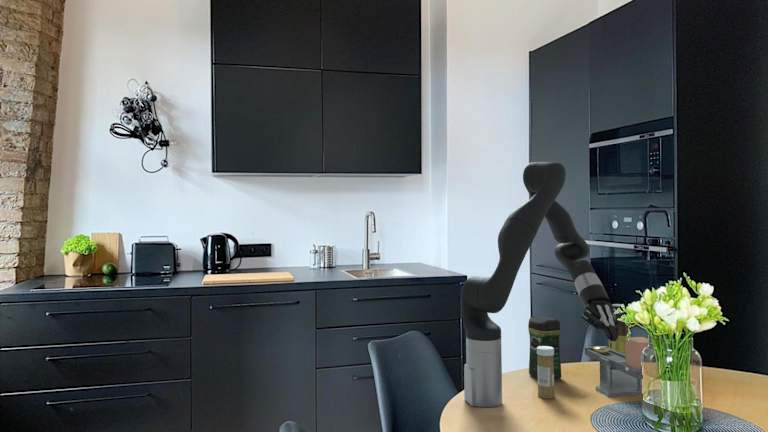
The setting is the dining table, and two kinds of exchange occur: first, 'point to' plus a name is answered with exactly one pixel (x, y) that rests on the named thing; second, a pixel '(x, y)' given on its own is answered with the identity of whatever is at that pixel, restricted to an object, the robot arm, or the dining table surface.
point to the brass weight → (601, 350)
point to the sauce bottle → (619, 335)
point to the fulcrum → (617, 381)
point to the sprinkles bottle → (545, 372)
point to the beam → (615, 361)
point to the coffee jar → (544, 342)
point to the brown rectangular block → (635, 351)
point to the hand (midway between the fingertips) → (614, 339)
